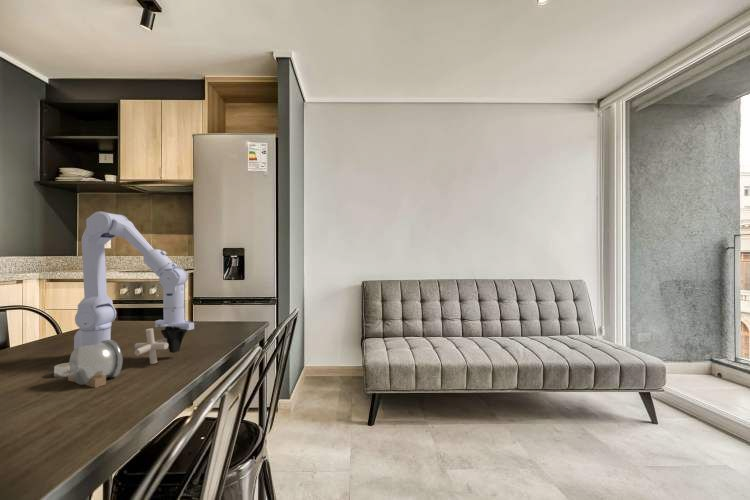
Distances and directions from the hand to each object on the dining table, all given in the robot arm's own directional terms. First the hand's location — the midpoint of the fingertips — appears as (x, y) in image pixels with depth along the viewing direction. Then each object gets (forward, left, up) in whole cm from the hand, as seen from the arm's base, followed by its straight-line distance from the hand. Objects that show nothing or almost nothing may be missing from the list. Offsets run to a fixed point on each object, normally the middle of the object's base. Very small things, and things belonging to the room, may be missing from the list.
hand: (174, 351), depth 113 cm
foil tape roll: (-12, -23, -2) cm, 25 cm away
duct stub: (0, -22, -2) cm, 22 cm away
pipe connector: (0, -6, -2) cm, 7 cm away
